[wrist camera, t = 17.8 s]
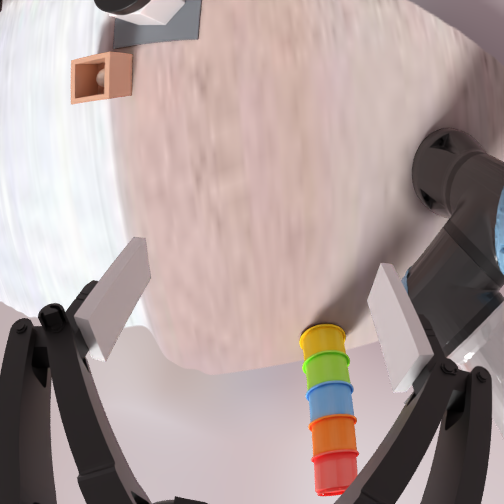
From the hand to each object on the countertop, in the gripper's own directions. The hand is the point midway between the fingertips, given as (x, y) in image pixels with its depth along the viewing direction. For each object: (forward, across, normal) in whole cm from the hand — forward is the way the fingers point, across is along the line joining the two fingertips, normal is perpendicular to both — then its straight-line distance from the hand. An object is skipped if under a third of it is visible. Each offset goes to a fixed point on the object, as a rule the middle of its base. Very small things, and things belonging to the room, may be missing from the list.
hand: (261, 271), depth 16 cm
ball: (+28, +26, -12) cm, 40 cm away
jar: (+30, +19, -24) cm, 43 cm away
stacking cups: (+31, -15, +38) cm, 51 cm away
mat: (+31, +19, -24) cm, 43 cm away
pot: (+31, +26, -12) cm, 42 cm away
